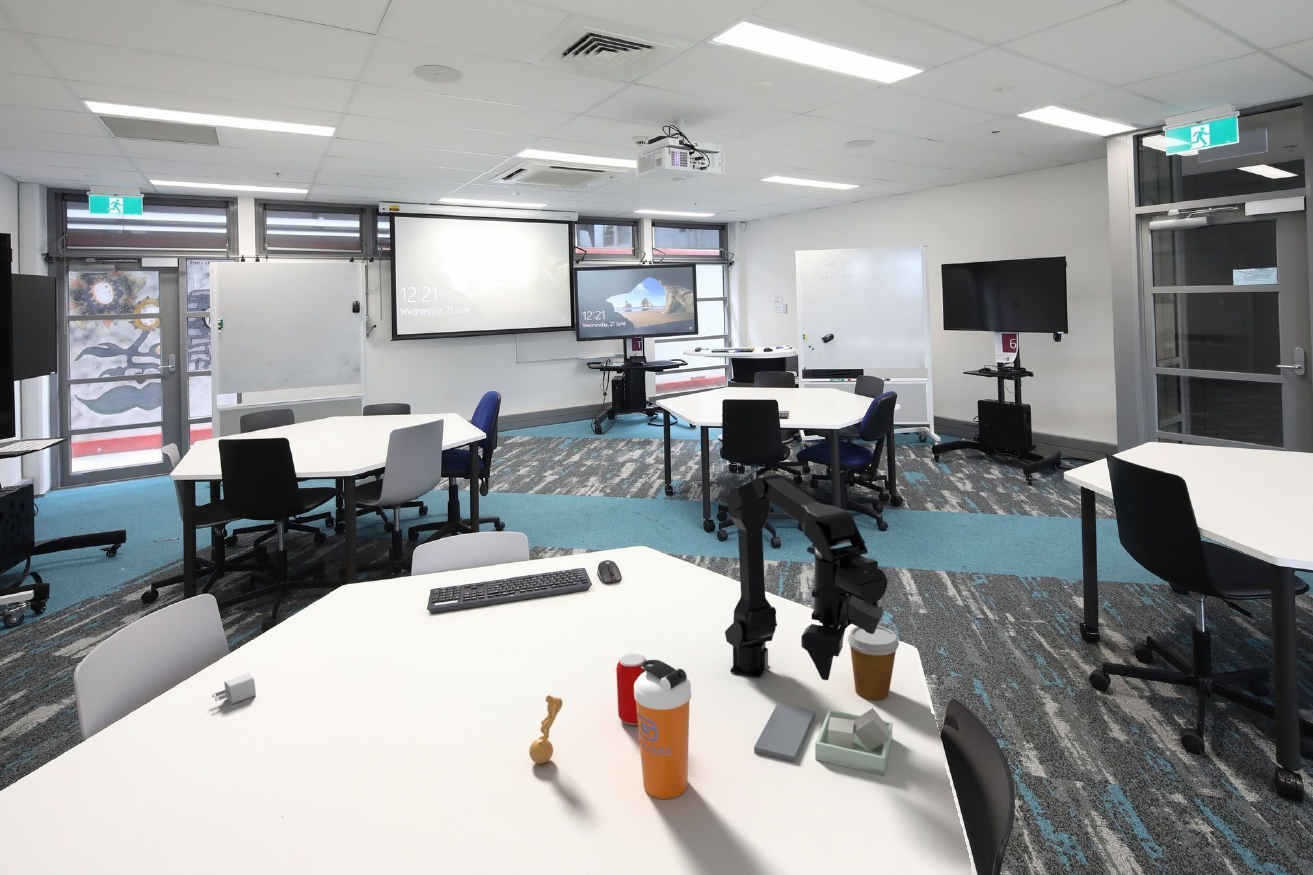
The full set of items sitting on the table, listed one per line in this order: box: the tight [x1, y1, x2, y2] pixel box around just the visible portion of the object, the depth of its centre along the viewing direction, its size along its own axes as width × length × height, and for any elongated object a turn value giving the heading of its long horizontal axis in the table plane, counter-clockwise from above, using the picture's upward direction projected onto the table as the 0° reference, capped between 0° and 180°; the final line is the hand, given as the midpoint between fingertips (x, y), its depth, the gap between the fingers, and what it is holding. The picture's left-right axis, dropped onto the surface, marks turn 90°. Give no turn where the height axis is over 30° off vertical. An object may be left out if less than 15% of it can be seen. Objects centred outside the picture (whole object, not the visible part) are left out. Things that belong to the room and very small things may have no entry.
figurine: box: [528, 694, 563, 765], centre depth 118 cm, size 8×6×12 cm
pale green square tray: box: [814, 709, 894, 776], centre depth 120 cm, size 11×11×3 cm
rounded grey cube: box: [828, 717, 854, 750], centre depth 119 cm, size 4×4×4 cm
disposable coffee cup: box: [847, 625, 900, 701], centre depth 137 cm, size 10×10×12 cm
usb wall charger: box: [211, 672, 257, 705], centre depth 142 cm, size 4×7×4 cm, turn 137°
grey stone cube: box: [854, 708, 889, 751], centre depth 119 cm, size 4×4×4 cm
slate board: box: [753, 702, 815, 763], centre depth 125 cm, size 7×15×1 cm, turn 155°
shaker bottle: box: [634, 659, 692, 800], centre depth 111 cm, size 9×9×20 cm
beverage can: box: [615, 653, 647, 726], centre depth 130 cm, size 6×6×12 cm
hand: (830, 667), depth 124 cm, fingers open, 9 cm apart
